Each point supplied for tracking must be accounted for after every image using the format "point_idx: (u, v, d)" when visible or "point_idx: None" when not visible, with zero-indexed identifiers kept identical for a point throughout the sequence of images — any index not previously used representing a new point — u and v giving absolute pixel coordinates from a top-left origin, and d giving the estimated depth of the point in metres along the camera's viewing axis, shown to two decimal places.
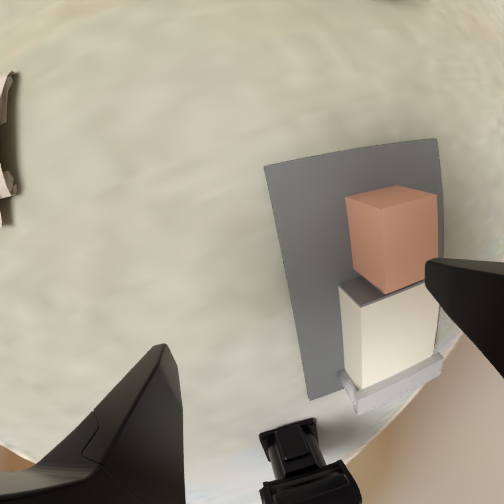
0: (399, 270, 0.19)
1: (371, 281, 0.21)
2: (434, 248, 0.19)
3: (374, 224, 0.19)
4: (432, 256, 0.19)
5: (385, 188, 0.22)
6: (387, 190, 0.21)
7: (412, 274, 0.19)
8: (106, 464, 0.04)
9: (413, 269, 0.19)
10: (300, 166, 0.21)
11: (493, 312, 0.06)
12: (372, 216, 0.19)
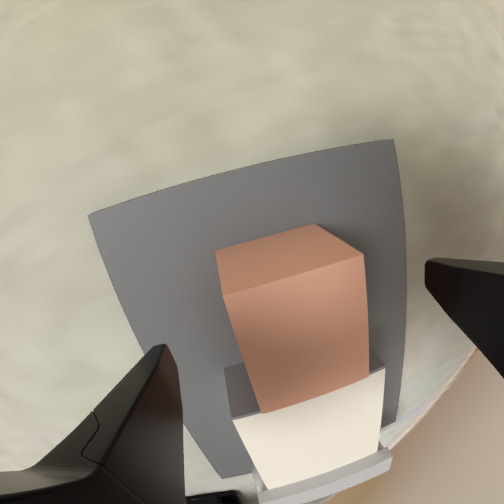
0: (284, 384, 0.11)
1: None
2: (360, 345, 0.11)
3: None
4: (356, 356, 0.12)
5: (289, 231, 0.14)
6: (287, 237, 0.14)
7: (314, 386, 0.12)
8: (106, 464, 0.04)
9: (315, 379, 0.12)
10: (136, 209, 0.13)
11: (493, 312, 0.06)
12: None
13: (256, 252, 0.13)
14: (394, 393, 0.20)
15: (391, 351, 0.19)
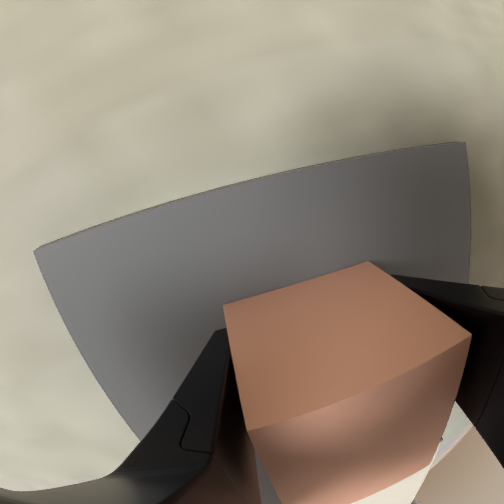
0: (327, 497, 0.06)
1: None
2: (432, 440, 0.06)
3: None
4: (424, 452, 0.06)
5: (335, 275, 0.09)
6: (336, 287, 0.09)
7: (365, 490, 0.07)
8: (210, 453, 0.04)
9: (368, 485, 0.06)
10: (100, 244, 0.08)
11: None
12: None
13: (292, 318, 0.08)
14: None
15: None
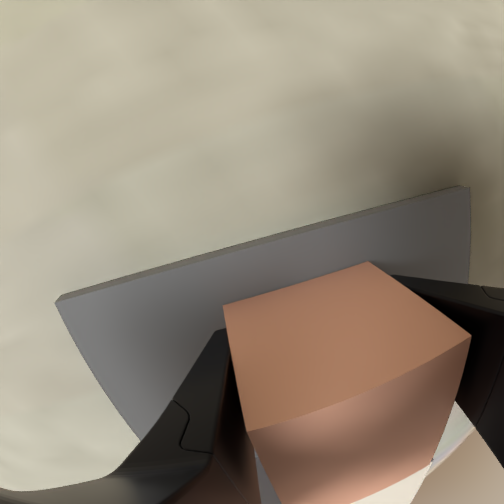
0: (327, 497, 0.06)
1: None
2: (431, 440, 0.06)
3: None
4: (423, 452, 0.06)
5: (335, 276, 0.09)
6: (335, 288, 0.09)
7: (364, 490, 0.07)
8: (209, 453, 0.04)
9: (368, 485, 0.06)
10: (121, 299, 0.09)
11: None
12: None
13: (291, 319, 0.08)
14: None
15: None
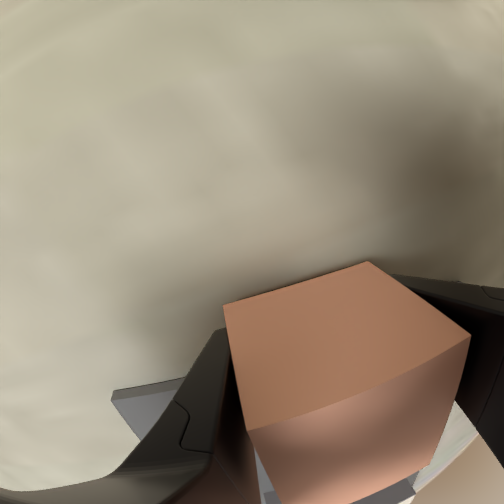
0: (327, 497, 0.06)
1: None
2: (431, 440, 0.06)
3: None
4: (423, 452, 0.06)
5: (335, 276, 0.09)
6: (335, 288, 0.09)
7: (364, 490, 0.07)
8: (210, 453, 0.04)
9: (368, 484, 0.06)
10: None
11: None
12: None
13: (291, 318, 0.08)
14: (413, 475, 0.17)
15: None
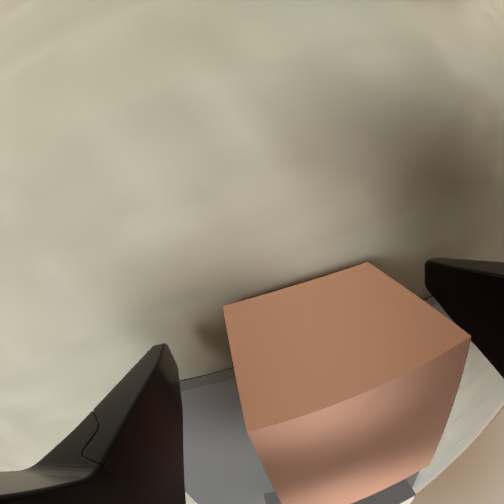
0: (327, 498, 0.06)
1: None
2: (431, 441, 0.06)
3: None
4: (423, 452, 0.06)
5: (335, 277, 0.09)
6: (335, 289, 0.09)
7: (364, 491, 0.07)
8: (106, 464, 0.04)
9: (368, 485, 0.06)
10: None
11: (493, 312, 0.06)
12: None
13: (291, 319, 0.08)
14: (413, 476, 0.17)
15: None
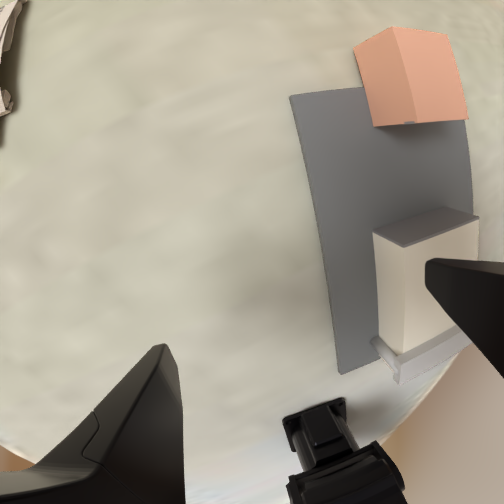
0: (427, 98, 0.14)
1: (398, 121, 0.16)
2: (458, 88, 0.14)
3: (389, 48, 0.13)
4: (459, 96, 0.14)
5: None
6: None
7: (442, 108, 0.14)
8: (106, 464, 0.04)
9: (442, 102, 0.14)
10: (328, 97, 0.18)
11: (493, 312, 0.06)
12: (385, 41, 0.13)
13: None
14: None
15: None
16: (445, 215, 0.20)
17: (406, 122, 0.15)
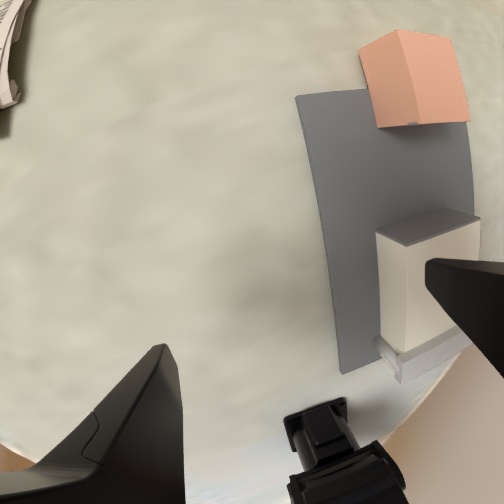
0: (430, 99, 0.14)
1: (401, 123, 0.16)
2: (461, 90, 0.14)
3: (393, 50, 0.14)
4: (461, 98, 0.14)
5: None
6: None
7: (445, 110, 0.14)
8: (106, 464, 0.04)
9: (445, 104, 0.14)
10: (333, 98, 0.18)
11: (493, 312, 0.06)
12: (390, 44, 0.14)
13: None
14: None
15: None
16: (447, 216, 0.20)
17: (410, 123, 0.15)
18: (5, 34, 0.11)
